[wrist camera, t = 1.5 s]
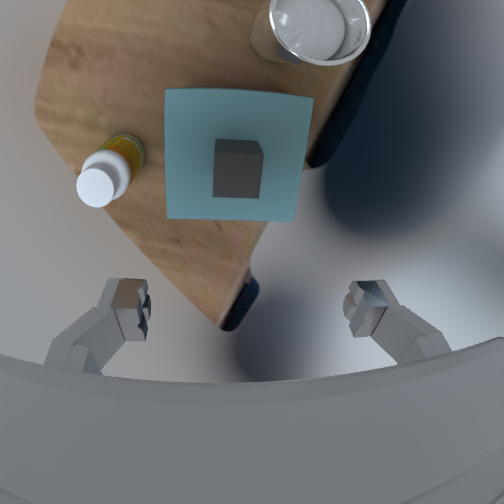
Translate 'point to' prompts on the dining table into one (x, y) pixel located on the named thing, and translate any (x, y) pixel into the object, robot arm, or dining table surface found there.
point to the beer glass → (311, 31)
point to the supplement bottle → (110, 170)
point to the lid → (234, 153)
